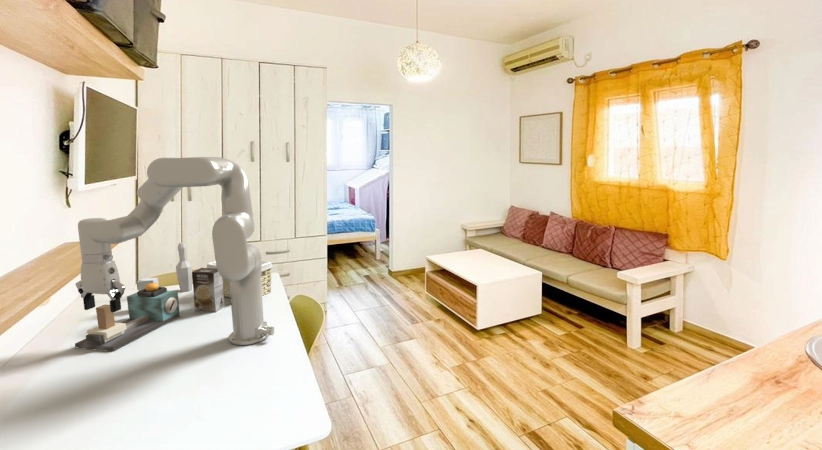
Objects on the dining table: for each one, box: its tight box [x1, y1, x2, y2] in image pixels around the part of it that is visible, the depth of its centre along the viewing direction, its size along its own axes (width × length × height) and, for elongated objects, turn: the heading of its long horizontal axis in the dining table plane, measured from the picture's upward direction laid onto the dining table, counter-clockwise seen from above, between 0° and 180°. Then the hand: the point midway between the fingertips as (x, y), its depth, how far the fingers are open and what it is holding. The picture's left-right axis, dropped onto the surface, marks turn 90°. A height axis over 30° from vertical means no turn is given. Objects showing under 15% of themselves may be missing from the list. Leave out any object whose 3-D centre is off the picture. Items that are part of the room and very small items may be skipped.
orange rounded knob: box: [145, 282, 159, 291], centre depth 145 cm, size 4×4×2 cm
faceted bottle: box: [175, 242, 193, 293], centre depth 179 cm, size 6×6×22 cm
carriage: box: [87, 304, 126, 342], centre depth 128 cm, size 7×7×10 cm
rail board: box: [74, 286, 181, 352], centre depth 137 cm, size 15×28×12 cm, turn 170°
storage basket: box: [206, 259, 273, 299], centre depth 174 cm, size 24×16×15 cm
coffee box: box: [192, 267, 225, 313], centre depth 156 cm, size 9×6×16 cm
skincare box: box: [136, 277, 160, 292], centre depth 158 cm, size 6×4×12 cm
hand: (103, 309), depth 127 cm, fingers open, 9 cm apart
